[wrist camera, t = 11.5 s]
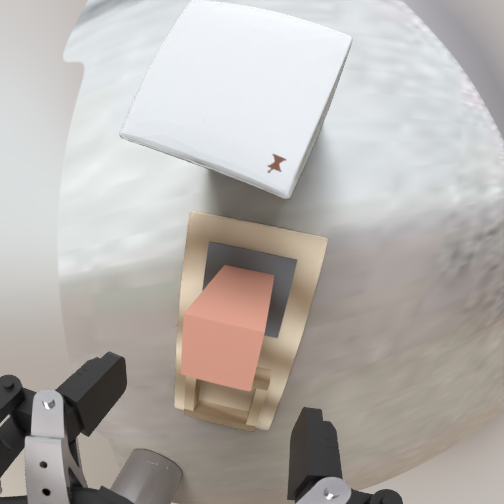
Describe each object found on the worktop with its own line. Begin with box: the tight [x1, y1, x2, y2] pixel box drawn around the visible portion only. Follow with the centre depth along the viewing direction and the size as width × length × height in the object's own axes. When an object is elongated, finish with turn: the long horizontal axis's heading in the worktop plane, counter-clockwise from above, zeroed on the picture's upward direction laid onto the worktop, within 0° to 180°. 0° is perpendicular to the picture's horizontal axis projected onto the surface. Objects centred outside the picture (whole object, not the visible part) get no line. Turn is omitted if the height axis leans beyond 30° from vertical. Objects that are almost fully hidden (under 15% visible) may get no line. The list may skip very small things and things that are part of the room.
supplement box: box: [120, 0, 352, 200], centre depth 14 cm, size 7×7×13 cm
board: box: [175, 211, 328, 432], centre depth 23 cm, size 22×11×3 cm, turn 169°
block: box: [181, 265, 274, 392], centre depth 17 cm, size 4×4×9 cm
